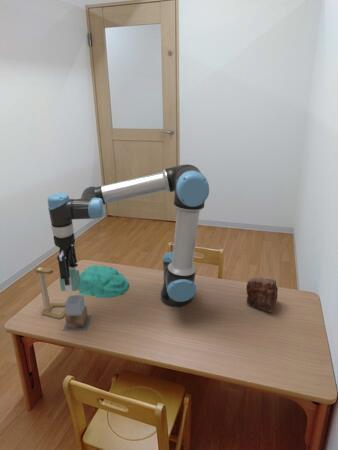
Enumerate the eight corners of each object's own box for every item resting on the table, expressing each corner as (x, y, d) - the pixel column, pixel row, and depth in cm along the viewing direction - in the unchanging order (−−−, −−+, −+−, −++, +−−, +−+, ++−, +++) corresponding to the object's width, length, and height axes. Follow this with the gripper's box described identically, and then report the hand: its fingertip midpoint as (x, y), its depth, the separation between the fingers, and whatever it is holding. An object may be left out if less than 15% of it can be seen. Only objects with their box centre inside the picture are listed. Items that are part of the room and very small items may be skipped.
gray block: (84, 306, 143) (83, 294, 141) (81, 315, 138) (79, 303, 135) (71, 306, 143) (69, 295, 141) (66, 315, 138) (64, 303, 135)
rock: (244, 313, 147) (246, 284, 141) (245, 297, 157) (247, 270, 151) (277, 317, 144) (281, 288, 138) (276, 301, 154) (279, 273, 148)
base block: (88, 317, 146) (86, 305, 144) (83, 328, 139) (82, 316, 137) (72, 317, 146) (70, 305, 144) (67, 328, 140) (65, 316, 137)
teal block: (80, 282, 138) (78, 270, 136) (76, 291, 133) (74, 278, 130) (66, 282, 139) (64, 270, 136) (61, 290, 133) (59, 278, 131)
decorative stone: (91, 272, 183) (89, 255, 179) (136, 281, 173) (135, 264, 169) (67, 292, 165) (64, 275, 161) (115, 304, 155) (114, 286, 151)
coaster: (92, 316, 147) (92, 315, 147) (86, 331, 138) (86, 330, 138) (69, 315, 148) (69, 315, 148) (62, 331, 139) (62, 330, 138)
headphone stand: (62, 320, 145) (54, 277, 136) (39, 317, 147) (29, 274, 138) (73, 305, 154) (66, 264, 146) (51, 303, 157) (43, 262, 148)
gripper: (61, 224, 135) (69, 273, 144) (44, 245, 118) (54, 299, 127) (80, 224, 135) (86, 273, 144) (65, 245, 118) (74, 300, 127)
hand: (71, 285), depth 136 cm, fingers closed on teal block, 6 cm apart
